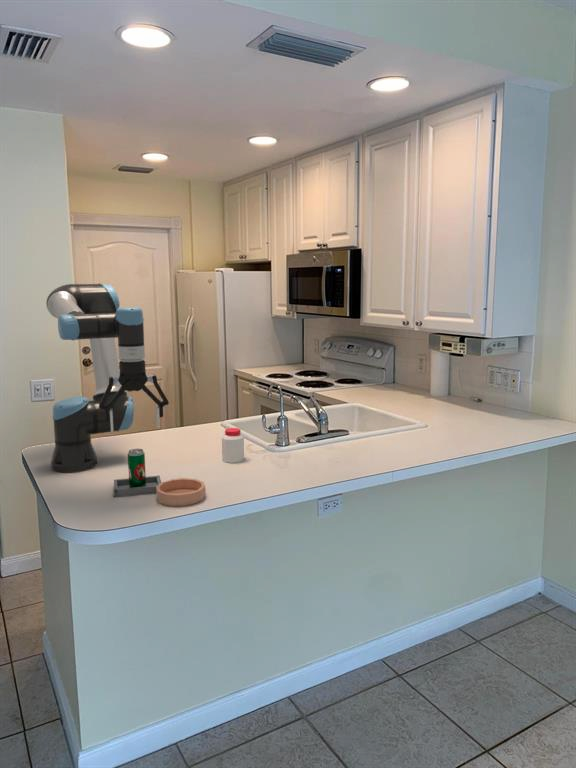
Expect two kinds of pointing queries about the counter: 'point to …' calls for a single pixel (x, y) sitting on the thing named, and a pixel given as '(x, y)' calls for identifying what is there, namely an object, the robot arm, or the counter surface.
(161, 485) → the bowl
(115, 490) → the tray
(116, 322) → the robot arm
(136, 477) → the soda can
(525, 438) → the counter surface
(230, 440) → the pill bottle
